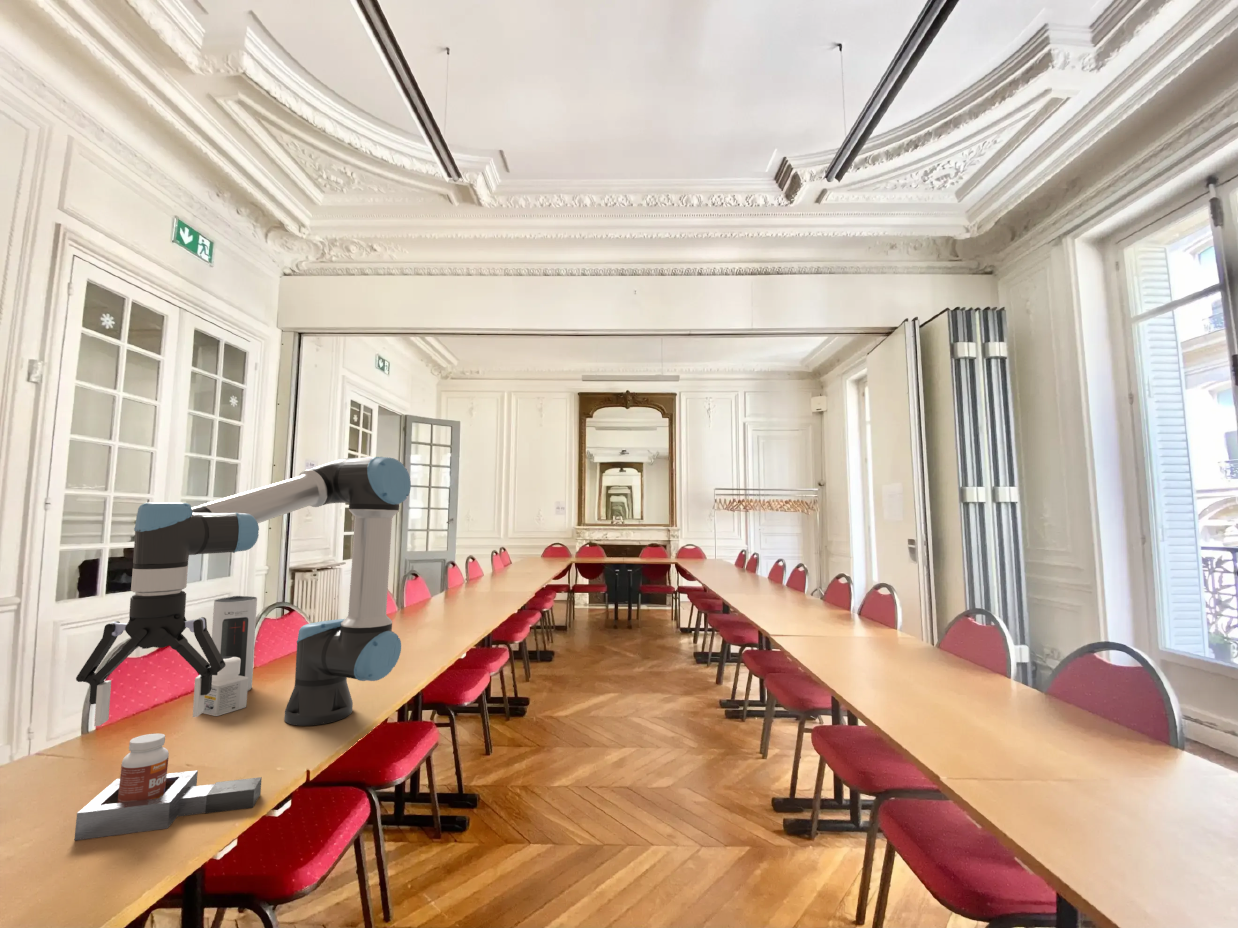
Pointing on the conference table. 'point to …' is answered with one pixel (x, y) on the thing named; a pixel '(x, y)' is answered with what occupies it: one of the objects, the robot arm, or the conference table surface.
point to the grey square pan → (163, 805)
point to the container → (227, 689)
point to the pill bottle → (144, 769)
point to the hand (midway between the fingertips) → (150, 718)
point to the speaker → (236, 630)
